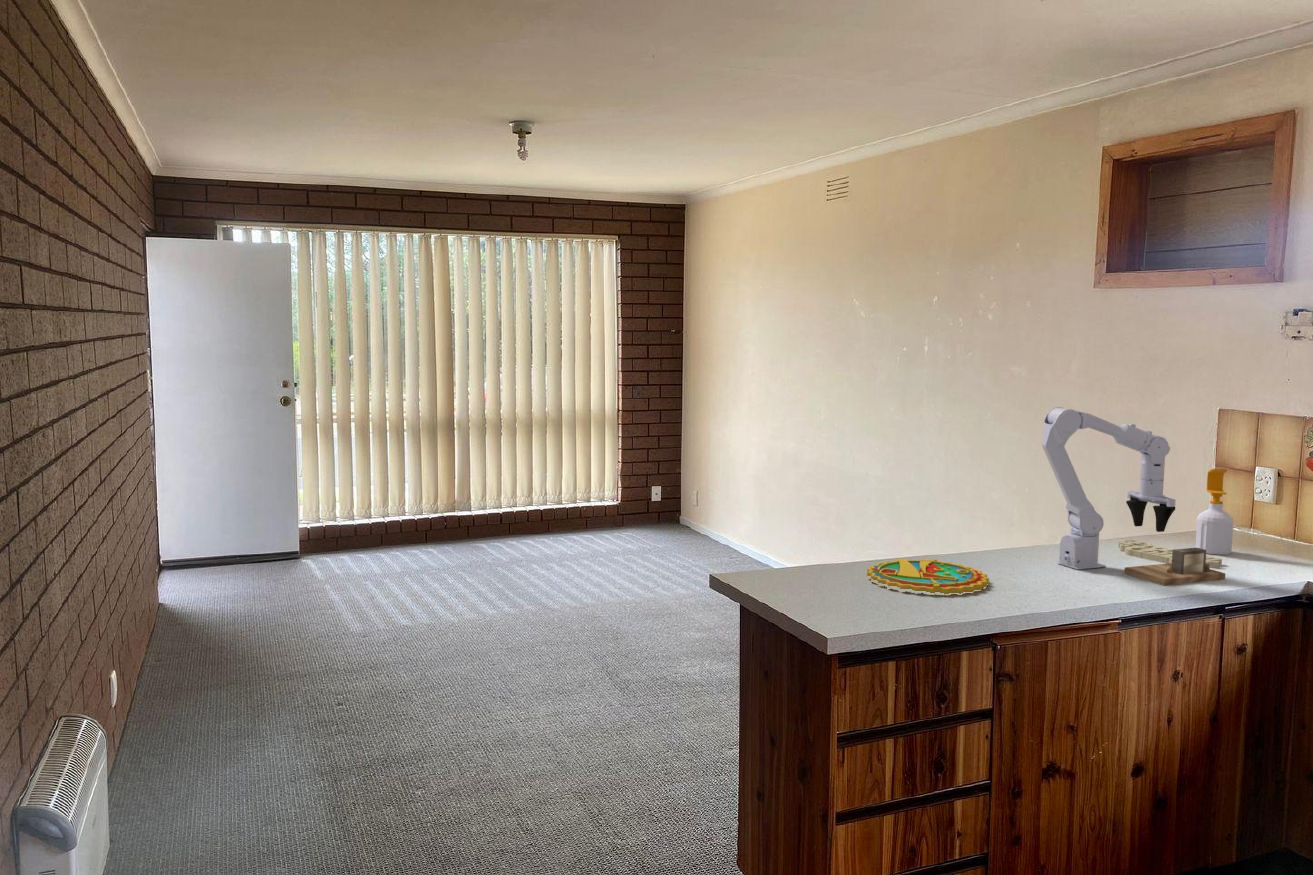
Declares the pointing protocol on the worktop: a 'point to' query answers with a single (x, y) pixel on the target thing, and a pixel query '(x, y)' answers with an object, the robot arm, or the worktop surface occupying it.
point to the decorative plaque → (928, 576)
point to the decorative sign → (1156, 552)
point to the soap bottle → (1215, 519)
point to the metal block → (1188, 560)
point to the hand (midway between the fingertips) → (1149, 528)
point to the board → (1172, 574)
